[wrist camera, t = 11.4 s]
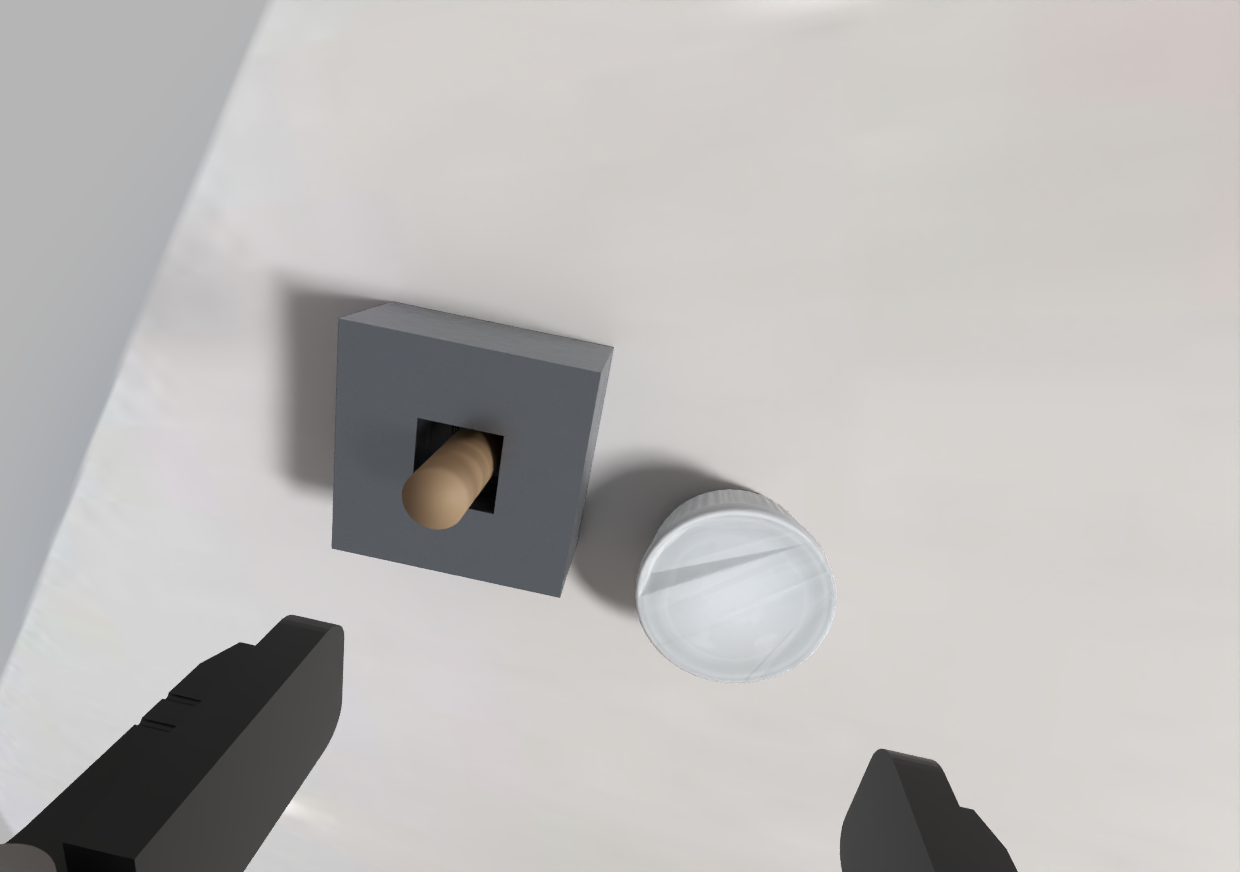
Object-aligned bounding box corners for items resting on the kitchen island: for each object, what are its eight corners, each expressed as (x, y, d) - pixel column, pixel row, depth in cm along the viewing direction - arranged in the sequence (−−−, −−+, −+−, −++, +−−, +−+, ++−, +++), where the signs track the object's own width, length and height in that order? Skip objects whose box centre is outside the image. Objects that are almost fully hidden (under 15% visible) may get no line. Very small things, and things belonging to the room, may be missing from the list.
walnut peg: (521, 411, 38) (468, 477, 28) (515, 457, 39) (462, 535, 29) (472, 401, 38) (403, 463, 28) (468, 447, 39) (400, 522, 29)
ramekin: (714, 436, 37) (719, 471, 32) (857, 541, 38) (883, 590, 34) (605, 565, 41) (594, 613, 36) (740, 656, 42) (747, 715, 37)
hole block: (613, 347, 36) (601, 372, 30) (577, 543, 40) (559, 597, 35) (392, 301, 36) (338, 318, 30) (380, 501, 40) (331, 548, 35)
